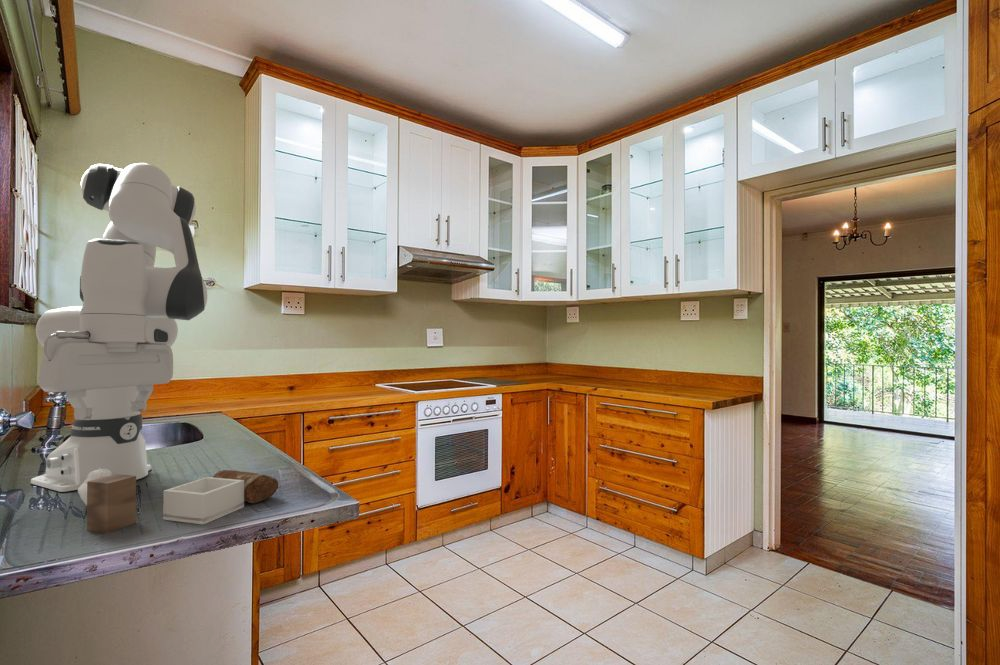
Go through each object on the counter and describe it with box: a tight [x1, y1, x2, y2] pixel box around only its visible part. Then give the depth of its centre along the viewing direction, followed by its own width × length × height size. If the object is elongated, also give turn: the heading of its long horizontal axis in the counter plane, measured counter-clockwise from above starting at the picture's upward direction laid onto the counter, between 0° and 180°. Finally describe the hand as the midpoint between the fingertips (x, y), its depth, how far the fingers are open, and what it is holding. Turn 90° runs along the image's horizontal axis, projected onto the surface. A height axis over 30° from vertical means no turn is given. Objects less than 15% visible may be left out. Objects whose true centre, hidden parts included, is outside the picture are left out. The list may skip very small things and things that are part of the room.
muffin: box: [77, 468, 112, 506], centre depth 91 cm, size 6×6×7 cm
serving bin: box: [162, 476, 245, 525], centre depth 87 cm, size 9×9×5 cm
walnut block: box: [86, 474, 137, 534], centre depth 81 cm, size 5×5×8 cm
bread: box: [212, 469, 279, 504], centre depth 97 cm, size 6×19×6 cm, turn 51°
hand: (112, 414), depth 81 cm, fingers open, 8 cm apart
